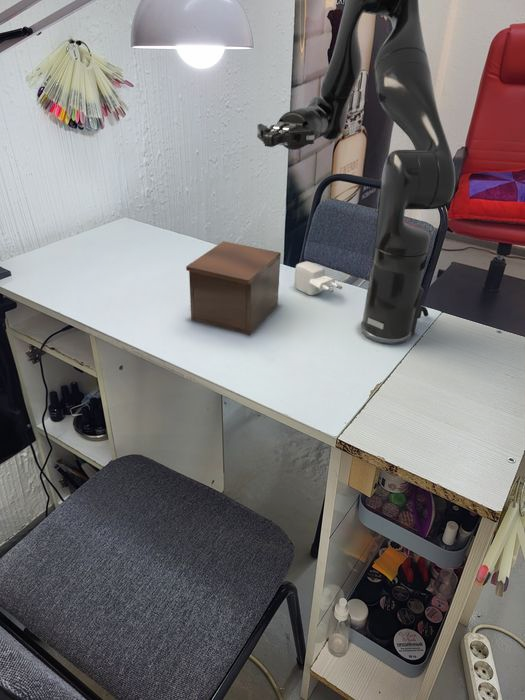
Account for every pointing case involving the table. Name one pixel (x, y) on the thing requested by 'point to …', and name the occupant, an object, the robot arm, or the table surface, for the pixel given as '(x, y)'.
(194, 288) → the supply box
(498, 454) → the table surface
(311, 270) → the power adapter
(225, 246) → the lid
